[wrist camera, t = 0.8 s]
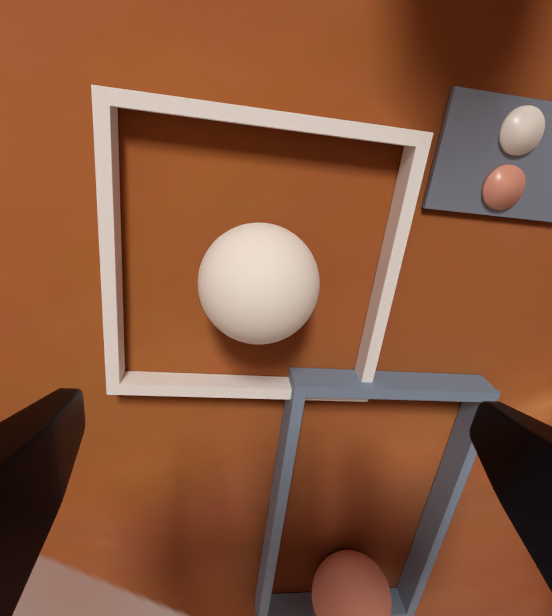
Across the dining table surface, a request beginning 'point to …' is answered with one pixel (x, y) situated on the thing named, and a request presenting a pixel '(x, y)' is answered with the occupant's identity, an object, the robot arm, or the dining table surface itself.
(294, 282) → the ball cream
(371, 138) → the frame
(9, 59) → the dining table surface
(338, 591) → the ball terracotta
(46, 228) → the dining table surface
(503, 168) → the card
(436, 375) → the frame
